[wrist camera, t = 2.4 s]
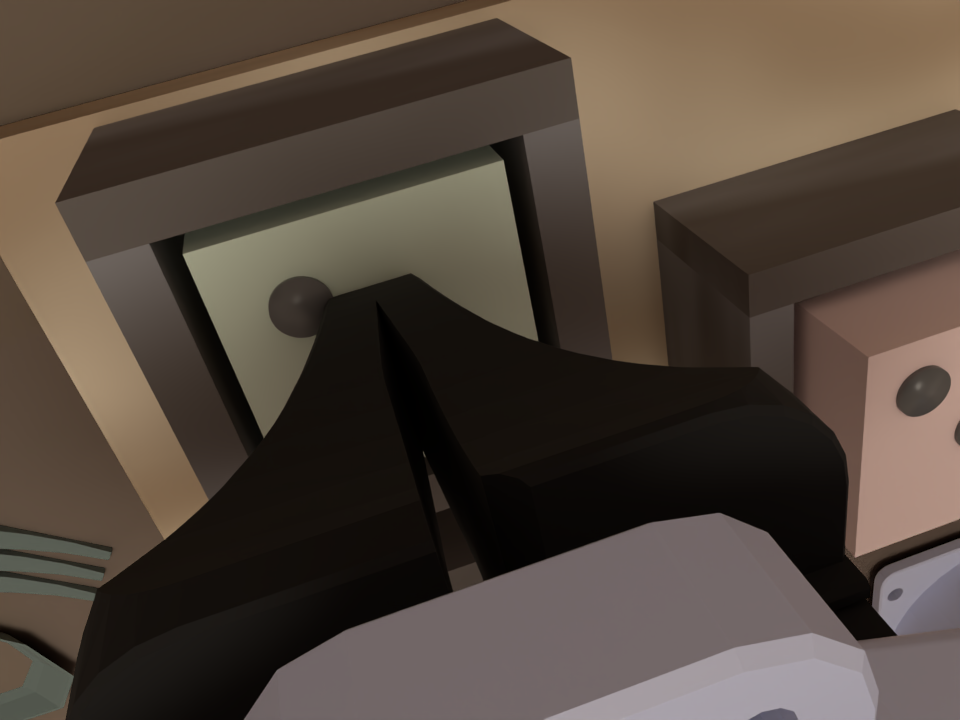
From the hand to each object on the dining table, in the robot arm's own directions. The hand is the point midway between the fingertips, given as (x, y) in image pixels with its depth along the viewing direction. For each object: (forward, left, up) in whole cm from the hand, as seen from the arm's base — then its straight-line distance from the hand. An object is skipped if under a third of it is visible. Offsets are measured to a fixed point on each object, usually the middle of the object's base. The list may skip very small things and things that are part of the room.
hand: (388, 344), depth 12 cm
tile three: (-4, -9, -1) cm, 10 cm away
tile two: (0, 0, -3) cm, 3 cm away
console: (-4, -4, -4) cm, 7 cm away
